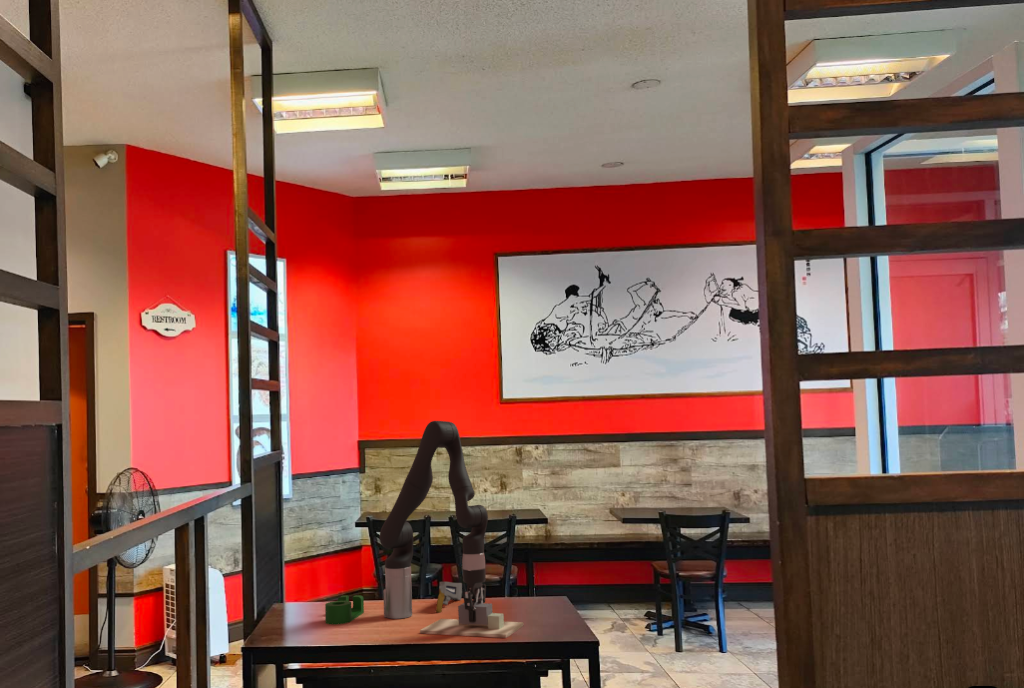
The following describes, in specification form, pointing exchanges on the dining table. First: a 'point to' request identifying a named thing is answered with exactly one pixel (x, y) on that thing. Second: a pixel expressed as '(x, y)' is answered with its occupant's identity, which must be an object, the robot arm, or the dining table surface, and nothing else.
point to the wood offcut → (495, 621)
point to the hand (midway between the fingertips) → (475, 619)
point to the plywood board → (470, 629)
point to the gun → (448, 594)
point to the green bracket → (344, 610)
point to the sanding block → (481, 614)
